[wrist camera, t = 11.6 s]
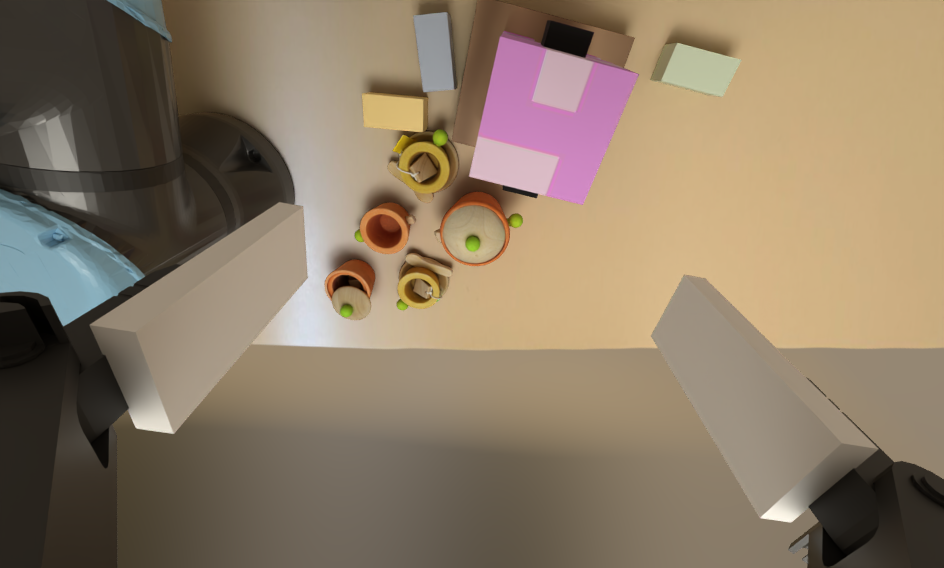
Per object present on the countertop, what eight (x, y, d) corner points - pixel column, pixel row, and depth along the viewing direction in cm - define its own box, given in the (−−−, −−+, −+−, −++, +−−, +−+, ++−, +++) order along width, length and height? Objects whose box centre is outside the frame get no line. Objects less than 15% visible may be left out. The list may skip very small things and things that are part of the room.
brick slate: (457, 88, 38) (454, 89, 35) (428, 90, 38) (423, 92, 35) (450, 16, 35) (446, 12, 32) (419, 19, 35) (413, 15, 32)
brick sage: (649, 79, 36) (661, 80, 34) (664, 44, 35) (677, 42, 32) (706, 95, 37) (722, 96, 34) (723, 60, 35) (741, 60, 32)
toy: (508, 12, 31) (506, 6, 19) (597, 37, 32) (650, 46, 20) (479, 138, 38) (464, 194, 25) (554, 157, 38) (575, 222, 26)
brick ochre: (372, 123, 40) (364, 126, 37) (371, 92, 38) (362, 93, 36) (427, 128, 40) (422, 132, 37) (428, 97, 38) (423, 99, 36)
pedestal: (454, 136, 40) (451, 141, 37) (480, 0, 34) (478, -5, 31) (578, 167, 41) (583, 173, 38) (624, 40, 35) (634, 37, 32)
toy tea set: (421, 106, 39) (400, 116, 31) (533, 195, 43) (541, 225, 34) (320, 275, 50) (284, 316, 42) (415, 332, 54) (399, 380, 46)
